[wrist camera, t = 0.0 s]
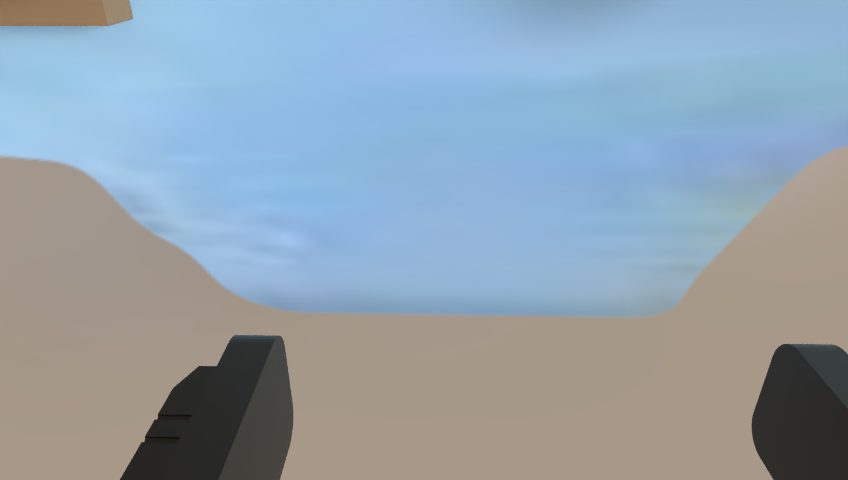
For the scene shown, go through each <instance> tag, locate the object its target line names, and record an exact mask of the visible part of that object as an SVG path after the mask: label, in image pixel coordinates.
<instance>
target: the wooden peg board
mask: <svg viewBox="0 0 848 480" xmlns="http://www.w3.org/2000/svg"><path fill="white" fill-rule="evenodd" d="M130 19H133V16H132V12H131V7H130V2H129V0H0V26H109V25H113V24H116V23H119V22H123V21H126V20H130Z"/></svg>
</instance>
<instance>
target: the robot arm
mask: <svg viewBox="0 0 848 480" xmlns="http://www.w3.org/2000/svg"><path fill="white" fill-rule="evenodd" d="M292 428H293V403H292V396H291V389H290V381H289V374H288V367H287V359H286V353H285V345H284V341H283V339H282V337H281V336H263V335H262V336H261V335H260V336H259V335H235V336H233V337H232V338H231V340H230V341H229V343H228V345H227V347H226V349H225V351H224V353H223V355H222V357H221V359H220V361H219V363H218V365H217V366H214V367H213V366H199V367H197V368H196V369H195V370H194V371H193V372H192V373H190V374H189V375H188V376H187V377H186V378H185V379H183V380H182V381H181V382H180V383H179V384H178V385H177V386H175V387H174V388H173V389H172V391H171V393H170V395H169V396H168V398H167V400H166V402H165V403H164V405H163V407H162V408H161V410H160V412H159V413H158V419H157V420H154V422H153V424H152V426H151V427H150V429H149V431H148V432H147V434H146V436H145V442H142V443H141V444H140V446H139V448H138V450H137V451H136V453H135V455H134V457H133V458H132V460H131V462H130V463H129V465H128V467H127V468H126V470H125V472H124V474H123V475H122V477H121V479H120V480H280V477H281V473H282V470H283V467H284V463H285V460H286V456H287V453H288V449H289V446H290V442H291V436H292ZM752 435H753V441H754V444H755V447H756V450H757V452H758V454H759V456H760V458H761V460H762V461H763V463H764V464H765V466H766V468H767V470H768V471H769V473H770V475H771V476H772V478H773V479H774V480H848V354H847V353H846V352H845V351H844V350H842V349H841V348H840V347H838V346H836V345H818V344H817V345H816V344H783V345H781V346H779V347H778V348H777V349H776V351H775V353H774V355H773V357H772V360H771V363H770V366H769V369H768V372H767V375H766V378H765V381H764V384H763V387H762V390H761V393H760V396H759V399H758V402H757V404H756V407H755V410H754V413H753V418H752Z"/></svg>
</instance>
